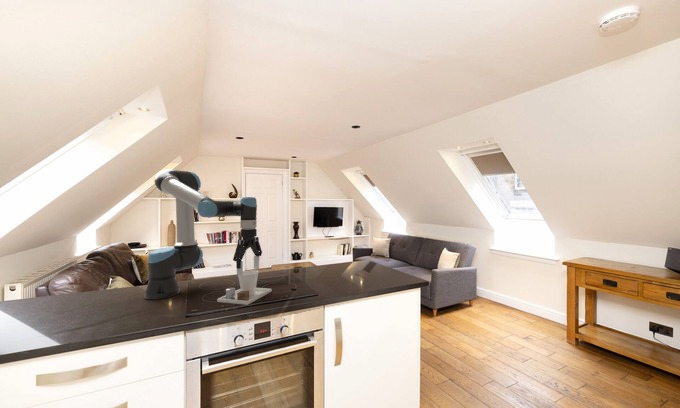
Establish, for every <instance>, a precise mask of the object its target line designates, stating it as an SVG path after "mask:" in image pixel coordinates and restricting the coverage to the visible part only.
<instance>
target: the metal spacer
mask: <svg viewBox="0 0 680 408" xmlns="http://www.w3.org/2000/svg"><path fill="white" fill-rule="evenodd" d="M235 291H236V288H235V287H228V288H225V295H226V299H232V300H235Z"/></svg>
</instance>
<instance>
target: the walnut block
mask: <svg viewBox="0 0 680 408" xmlns="http://www.w3.org/2000/svg"><path fill="white" fill-rule="evenodd" d="M237 300H243V301H248V300H249V291H240V292H239V293H237Z"/></svg>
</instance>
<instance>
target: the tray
mask: <svg viewBox="0 0 680 408" xmlns="http://www.w3.org/2000/svg"><path fill="white" fill-rule="evenodd" d="M272 290H273V289H272V288H265V287H256V291H255V295H254V296H251V297H249V300H248V301H243V300H237V293H239V292H240V291H241V288H239V289H235V300H232V299H226V294H225V295H223V296H221V297H218V298H217V299H216V302H218V303H224V304H236V305H246V306H248V305H250V304H252V303H253V302H255V301H257V300H259V299H261V298H262V297H264V296H266V295H268V294H270V293H271V292H272Z"/></svg>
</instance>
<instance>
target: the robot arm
mask: <svg viewBox="0 0 680 408" xmlns="http://www.w3.org/2000/svg"><path fill="white" fill-rule="evenodd" d="M154 185H155V187H156V188H157V189H158V190H159V191H160V192H162V193H164V194H167V195H171V196H172V197H174V199H175V211H176V213H175V214H176V216H175V217H176V220H175V221H176V222H175V223H176V242H175V244H173V247H172V246H171V247H167V246H166V247H162V248H157V249H154V250H152V251H150V252H149V253H148V256H147V263H148V268H147V269H148V272H147V273H148V283H147V286H146V289H145V291H144V299H146V300H161V299H167V298H171V297H174V296H177V295H179V293H180V290H181V289H180V287H179V285H178V281H177V278H176V272H179V271H182V270H186V269H192V268H195V267H197V266H198V265H200V264H201V262H202V261H203V255H204V252H203V250H202V248H201V247H200V246H199V245H198V242H197V241H195V239H196V238H195V214H194V213H195V211H194V210H196V211H197V213H198V215H199V216H200V217H202V218H208V219H210V218H217V217H218V218H219V217H221V218H222V217H223V218H224V217H240V237H241V239H237V245H236V248H235V252H234V255H233V258H232V261H233V262H236V264H235V265H236V266H235V267H236V276H238V275H241V276H242V275H243V271H244V268H243V267H244V266H243V265H244V261H242V260H243V258H244V256H245V254H246V252H247V250H248V249H251V251H252V252H253V255H254V256H253V269H254V270H260V257H261V256H262V254H263V250H262V248H261V243H260V239H259V236H258V235H257V229H256V228H258V227H257V220H258V219H257V215H258V213H257V212H258V205H257V204H258V203H257V198H256V197H255V196H254V197H253V196H244V197H243V196H242V197H240V201H239V200H214V199H212V198H211V197H209V196H207V195H206V194H203V193H201V192H200V189H201V186H202V182H201V179H200V177H199V176H198V175H197V174H196V173H195V172H193V171H192V172H191V171H188V170H187V171H185V170H178V169H177V170H176V169H175V170H174V169H163V170H161V171H159V172H158V173H156V175H155V177H154Z"/></svg>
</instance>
